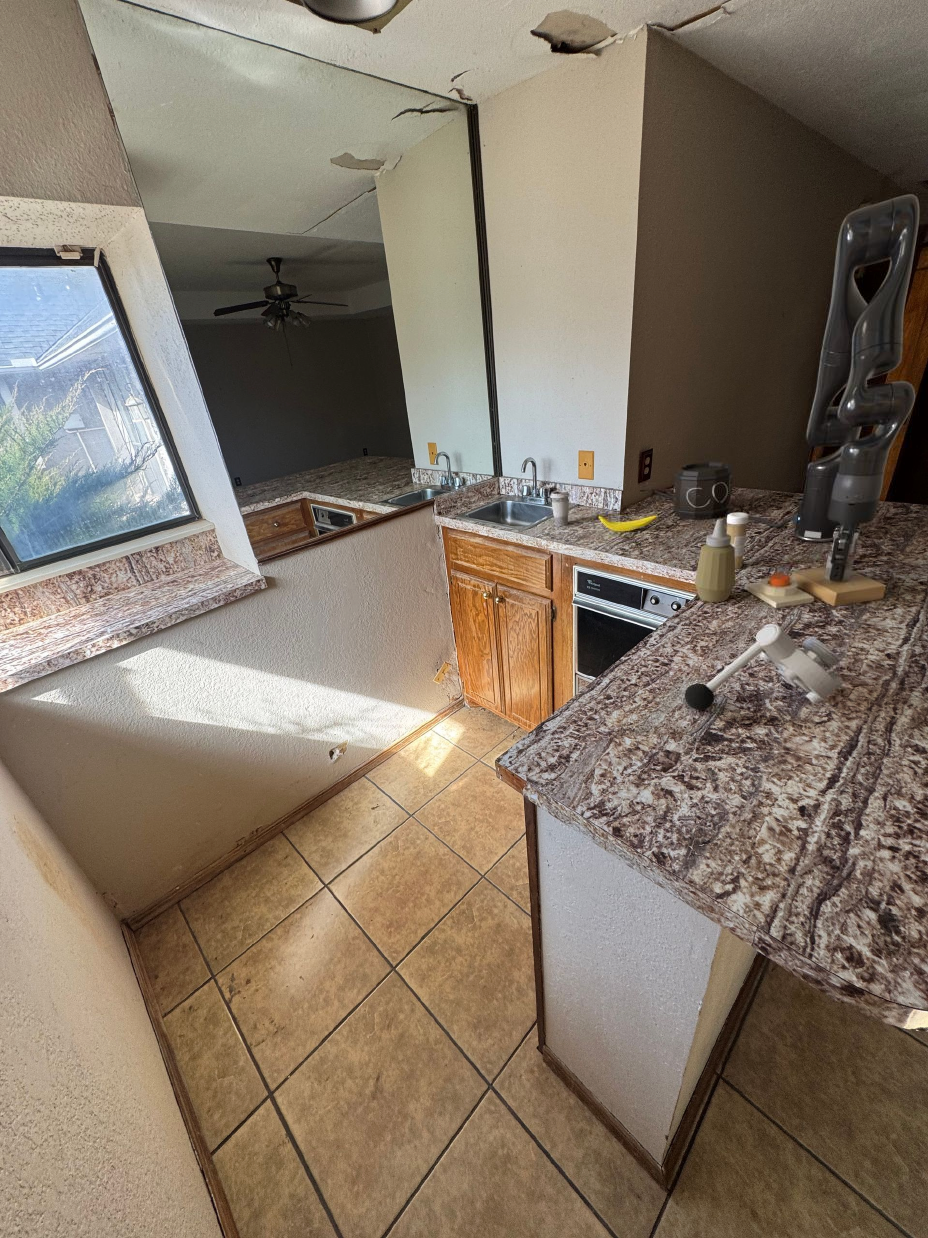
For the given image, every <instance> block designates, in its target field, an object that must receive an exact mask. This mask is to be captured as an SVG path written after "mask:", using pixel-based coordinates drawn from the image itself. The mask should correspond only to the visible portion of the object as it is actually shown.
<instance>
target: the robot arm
mask: <svg viewBox="0 0 928 1238" xmlns="http://www.w3.org/2000/svg"><path fill="white" fill-rule="evenodd" d="M919 223H920V202H919V199H918V197H917V196H916V195H915V194H911V193H909V194H905V195H901V196H897V197H893V198H891V199H887V200H884V201H881V202H877V203H874V204H871V205H867V206H864V207H861V208H858V209H856V210H853V211H851V212H849V213H848V214H846V216H845V217H844V219H843V221H842V223H841V225H840V228H839V232H838V236H837V242H836V250H835V258H834V269H833V278H832V288H831V297H830V304H829V310H828V315H827V321H826V325H825V329H824V334H823V338H822V339H823V340H822V344H821V345H822V346H821V351H820V355H819V356H820V358H819V366H818V373H817V380H816V387H815V392H814V397H813V401H812V405H811V410H810V414H809V418H808V422H807V425H806V426H807V427H806V432H805V438H806V443H807V445H808V446H810V447H816V448H817V447H819V448H820V447H836V446H837V447H838V446H839V448H838V449H837V450H836V451H834V452H833V453H831V454H828V455H826V456H824V457H821V458H817V459H815V460H813V461H810V462H809V463H808V465H807V469H806V475H805V482H804V486H803V487H804V488H803V494H802V500H800V501H799V504H798V510H797V513H794V514H793V516H792V517H789V518H785V519H784V520H782V521H781V522H780V523H774V522H770V521H768V520H766V519H763V518H759V517H756V516H755V517H754V516H750V515H749V518H748V520H751V521H754V522H755V521H757V522H759V523H763V524H766V525H768V526H770V527H773V528H781V527H783V526H784V525H785V524H787V523H788V522H791V521H792V525H793V526H795V528H794V535H795V537H796V539H798V540H800V541H803V542H809V543H831V542H833V543H832V546H831V553H832V559H831V561H830V562H831V564H832V568H831V573H830V578H829V579H830V580H831V581H838V582H841V581H842V580H843V577H844V572H845V568H846V565H847V564H848V557H849V554H853V552H854V549H855V547H856V545H857V542H858V539H859V537H860V535H861V532H862V531H861V530H862V526H860V525H861V524H866V523H870V522H873V521H874V520H875V518H876V514H877V510H878V507H879V503H880V498H881V493H882V489H883V486H884V475H885V469H886V467H887V461H888V457H889V453H890V450H891V448H892V445H893V443H894V442H895V439H896V437H897V435H898V434H899V432H900V430H901V428H902V426H903V425H904V423H905V421H906V420H907V418H908V416H909V415H910V413H911V411H912V409H913V407H914V404H915V401H916V392H915V388H914V385H912V384H911V383H910V382H908V381H903V380H900V381H891V382H883V383H875V384H874V383H873V384H868V380H871V379H874V378H876V377H879V376H883V375H886V374H887V373H890V372H892V371H894V370H895V369H896V368H897V367H898V366H899V365H900V364H901V362H902V358H903V337H904V315H905V306H906V301H907V295H908V290H909V285H910V279H911V274H912V268H913V261H914V255H915V249H916V243H917V237H918V232H919V231H918V230H919ZM887 261H889V266H888V270H887V273H886V275H885V278H884V279H883V281H882V283H881V284H880V286H879V288H878V289H877V291H876V292H875V293H874V295H873V297H872V298H871V300H870V301H869V302H868V303H867V302H866V300H865V299H864V297H863V295H861V292H860V290H859V289H858V285H857V283H856V281H855V276H854V275H855V271H856V270H857V269H859V268H863V267H867V266H871V265H876V264H879V263H882V262H887ZM844 388H845V389H844ZM843 389H844V392H843V395H842V396H841V399H840V402H839V404H838V405H837V406H836V405H835V406H831V404H832V402H833V401H834V400H835V398H836V397H837V396H838V394H839V393H840V392H841V391H842V390H843ZM870 426H871V427H873V426H876V428H875V429H874V430H873V431H872V432H871V433H869V435H866V436H863V437H860V434H861V430H862V427H870ZM859 437H860V438H859ZM657 491H658V490H656V491H655V492H654V493H655V494H658V495H661V496H663V497H665V498H669V499H671V500H674V496H673V495H669V494H666V493H665V492H664V493H663V492H661V491H659V492H657ZM731 513H732V512H729V511H727V512H725V513H724V516H725V515H726V516H728V514H731ZM837 555H839V556H844V559H841V558H836V556H837Z"/></svg>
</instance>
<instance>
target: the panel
mask: <svg viewBox="0 0 928 1238" xmlns="http://www.w3.org/2000/svg"><path fill="white" fill-rule="evenodd" d="M825 569H826V565H825V566H818V567H812V568H806V569H800V570H793V571H792V572H791V573H792V574H791V577H790V579H792V580H794V581H796V582H797V585H798V586H797V588H798V589H800V590H802V591H803V592H805V593H807V594H809V595H811V596H813V597H814V598H815V597H816V598H817V599H819V600H821V601H823V602H825V603H827V604H828V605H831V606H832V607H838V606H844V605H852V604H857V603H863V602H870V601H877V600H882V599H884V595H885V592H886V587H887V585H885V584H884V583H882V582H879V581H876V580H875V579H872V578H870V577H867V576H864V575H863V574H860V573H857V572H856V571H853V570H852V571H851V576H850V579H849V580H848V581H844V582H835V581H830V580H827V579H825V578H824V574H825Z"/></svg>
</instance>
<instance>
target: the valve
mask: <svg viewBox="0 0 928 1238" xmlns="http://www.w3.org/2000/svg"><path fill="white" fill-rule="evenodd" d="M755 640H756V641H755V642H754V644H753V645H751V646H750V647H749V648H748V649H747V650H745V651H744V652H743V653H742V654H740V655H739V656H738V657H737V658H736V659H735V660H733V661H732V662H731V663H730V664H729V665H728V666H726V667H725V668H724V669H723V670H722V671H720V672H719V673H718V674H717V675H716V676H714V677H713V678H712V679H711V680H710V681H709V682H707V683H706V684H704V683H699V682H697V683H693V684H691V685H689V686H687V688H686V690H685V692H684V700H685V702H686V704H687V705H688V706H689V707H690V708H691V709H693V710H695V711H705V710H708V709H709V708H710V707H711V706H712V705H713V704H714V702H715V693H714V691H715V690H717V689H718V688H720V686H722V685H723V684H724V683H725V682H727V681H728V680H729V679H730V678H732V677H733V676H734V675H736V673H738V671H740V670H741V669H742V668H744V667H745V666H746V665H747V664H748V663H750V662H751V661H752V660H754V658H756V657H757V656H759V657H760V658H761V659H762V661H764V662H765V663H767V664H769V663H770V662H772V663H773V665H774V666H775V667H776V668H777V669H778V670H777V671H776V672H777V673H778V674H779V675H780V678H781V679H782V680H783V681H784V682H786V684H788V685H792V687H794V688H797V687H799V688H800V689H802V690H804V691H805V692H808V693H807V694H805V697H806V699H808V700H809V701H810V702H811V703H812V704H813V705H817V704H818V703H819V702H821V701H823V700H824V699H826V698H827V697H829V696H830V695H831V694H833V693H834V692H835V691H837V689H839V688H840V687H841V686H843V685H844V682H843V680H842V679H841V677H838V675H835V674H833V673H831V674H829V673H828V672H827V670H826V669H824V667H826V668H827V669H830V670H831V668H834V666H836V665H837V664H838V663H840V662H841V660H840V657H838V655H837V654H835V652H834V651H832V650H831V648H829V647H828V646H826V645H825V644H824V643H823V642H822V641H820V640H818V639H817V638H815V637H813V636H811V635H810V636H808V637H807V638H805V639H804V640H803V641H802V642H800V645H801V647H802V648H803V649H801V648H800V647H799V645H798V644H797V642H796V641H794V639H793V638H792V637H791V636H790V635H789V634H788V633H787V632H786V631H785V630H784V629H783V628H782V627H781V626H780V625H779V624H776V623H768V624H765V625H763V627H762V628H761V629H760V630H758V632H757V633H756V636H755ZM823 666H824V667H823Z"/></svg>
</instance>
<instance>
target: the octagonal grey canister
mask: <svg viewBox="0 0 928 1238" xmlns="http://www.w3.org/2000/svg"><path fill="white" fill-rule="evenodd" d="M734 473H735V469H734V468H732V464H730V463H728V462H724V461H702V462H691V463H688V464H684V465H682V466H680V467H679V468H678V469H677V471H676V473H675V474H674V475H673V477H674V478H675V481H674V486H673V497H674V499H673V502H674V504H673V507H672V510H673V511H675V515H676V516H678V517H679V518H681V519H688V520H694V521H695V520H712V519H715V518H719V517H723V516H725V514H724V513H725V512H728V510H729V509H730V507H731V506H732V504H731V503H730V501H731V497H732V491H733V474H734Z"/></svg>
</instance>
